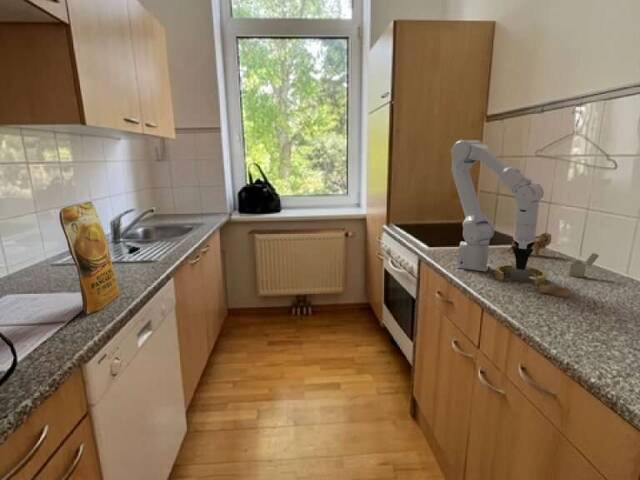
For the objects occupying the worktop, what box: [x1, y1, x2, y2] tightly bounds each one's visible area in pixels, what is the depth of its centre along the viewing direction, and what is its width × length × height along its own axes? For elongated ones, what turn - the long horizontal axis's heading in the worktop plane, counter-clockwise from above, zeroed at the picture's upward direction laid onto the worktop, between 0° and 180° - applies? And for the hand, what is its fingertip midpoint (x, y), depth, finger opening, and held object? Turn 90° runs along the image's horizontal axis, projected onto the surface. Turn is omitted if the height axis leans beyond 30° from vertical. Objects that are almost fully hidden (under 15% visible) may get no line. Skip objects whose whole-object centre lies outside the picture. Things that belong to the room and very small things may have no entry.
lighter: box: [567, 252, 600, 278], centre depth 117 cm, size 7×2×8 cm, turn 68°
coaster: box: [538, 284, 569, 299], centre depth 106 cm, size 7×7×1 cm
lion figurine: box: [507, 232, 552, 257], centre depth 143 cm, size 15×5×9 cm, turn 68°
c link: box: [509, 263, 531, 283], centre depth 116 cm, size 5×4×4 cm
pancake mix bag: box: [59, 201, 121, 316], centre depth 100 cm, size 7×19×28 cm, turn 3°
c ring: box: [494, 264, 547, 287], centre depth 119 cm, size 14×15×2 cm
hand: (521, 266), depth 116 cm, fingers open, 7 cm apart
